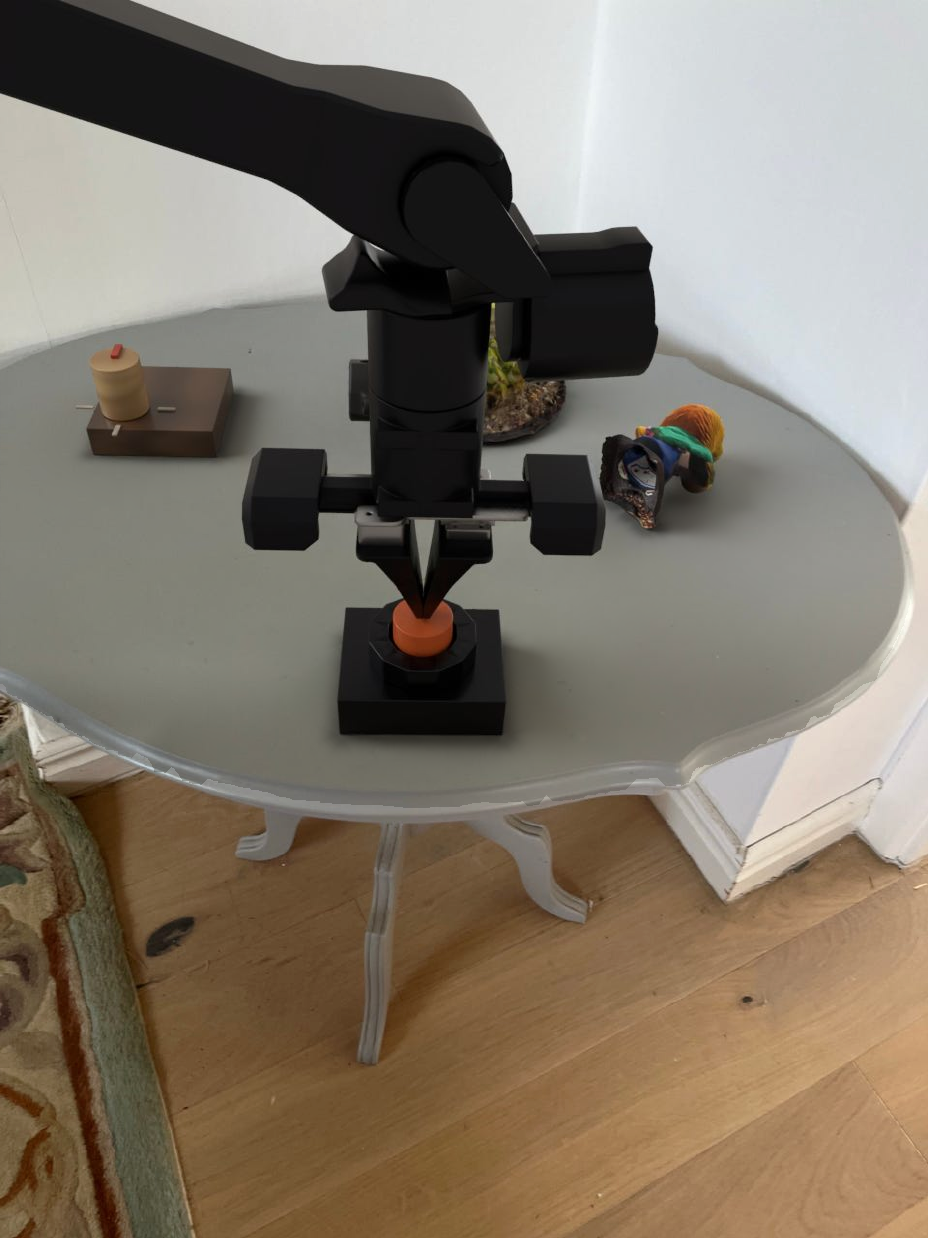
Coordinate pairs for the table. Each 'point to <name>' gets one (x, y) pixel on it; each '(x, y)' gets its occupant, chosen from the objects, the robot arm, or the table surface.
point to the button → (422, 630)
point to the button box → (421, 677)
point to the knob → (119, 383)
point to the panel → (169, 415)
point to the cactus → (516, 398)
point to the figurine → (662, 460)
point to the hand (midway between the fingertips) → (423, 613)
